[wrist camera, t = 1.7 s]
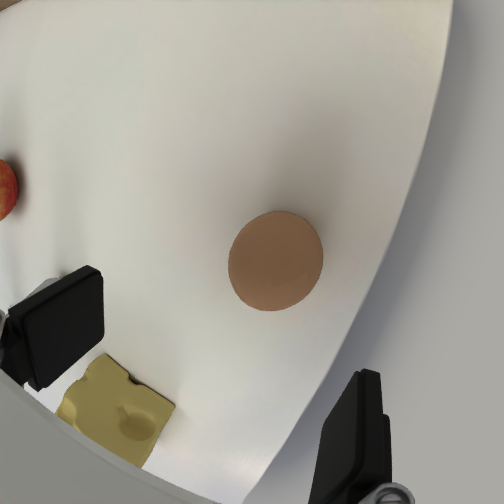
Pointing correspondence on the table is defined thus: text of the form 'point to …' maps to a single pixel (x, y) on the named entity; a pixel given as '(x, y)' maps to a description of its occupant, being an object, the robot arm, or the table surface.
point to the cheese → (115, 411)
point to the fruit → (7, 189)
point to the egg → (275, 261)
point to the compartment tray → (7, 3)
